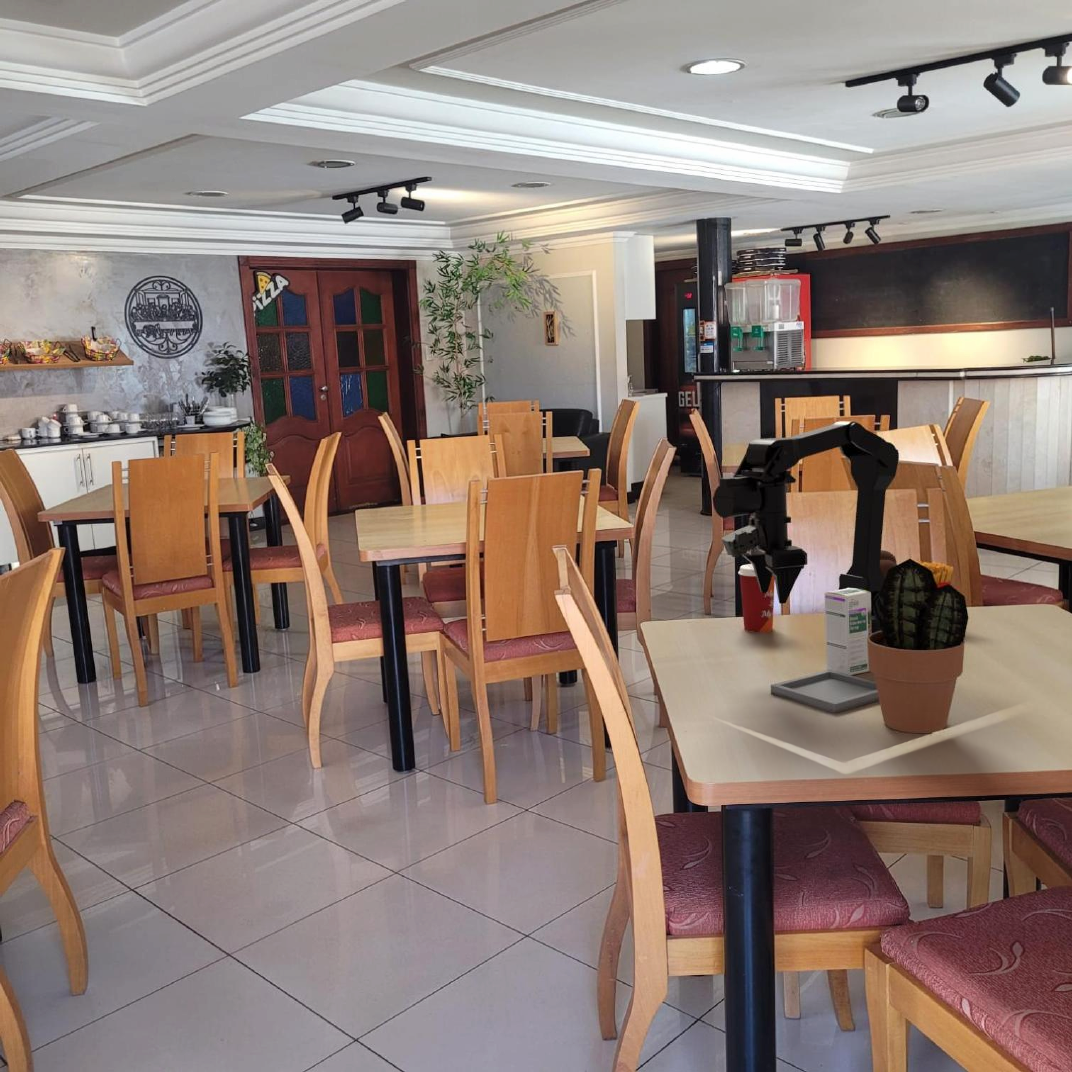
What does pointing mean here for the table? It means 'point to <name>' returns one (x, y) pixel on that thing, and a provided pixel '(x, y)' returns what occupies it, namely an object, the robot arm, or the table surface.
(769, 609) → the paper cup
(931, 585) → the potted plant
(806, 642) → the table surface
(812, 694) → the serving tray
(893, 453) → the robot arm
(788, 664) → the table surface
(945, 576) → the french fries
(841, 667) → the syrup box
